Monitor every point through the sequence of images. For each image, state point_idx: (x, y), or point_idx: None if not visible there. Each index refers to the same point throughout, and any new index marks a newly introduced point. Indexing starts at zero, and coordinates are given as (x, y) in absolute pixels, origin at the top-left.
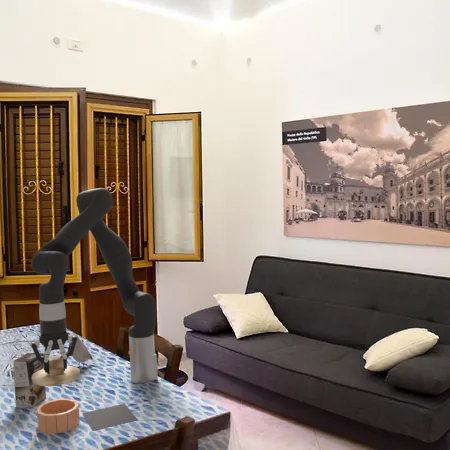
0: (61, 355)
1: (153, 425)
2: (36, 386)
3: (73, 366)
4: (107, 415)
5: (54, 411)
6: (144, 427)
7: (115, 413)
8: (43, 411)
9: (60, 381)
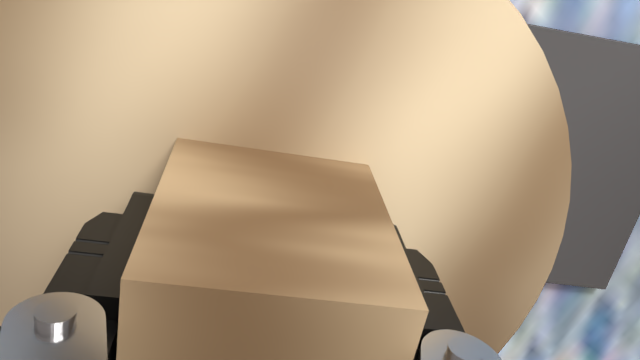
0: (420, 353)
1: (618, 349)
2: None
3: (565, 121)
4: None
5: None
6: (580, 343)
7: (581, 154)
8: None
9: None
